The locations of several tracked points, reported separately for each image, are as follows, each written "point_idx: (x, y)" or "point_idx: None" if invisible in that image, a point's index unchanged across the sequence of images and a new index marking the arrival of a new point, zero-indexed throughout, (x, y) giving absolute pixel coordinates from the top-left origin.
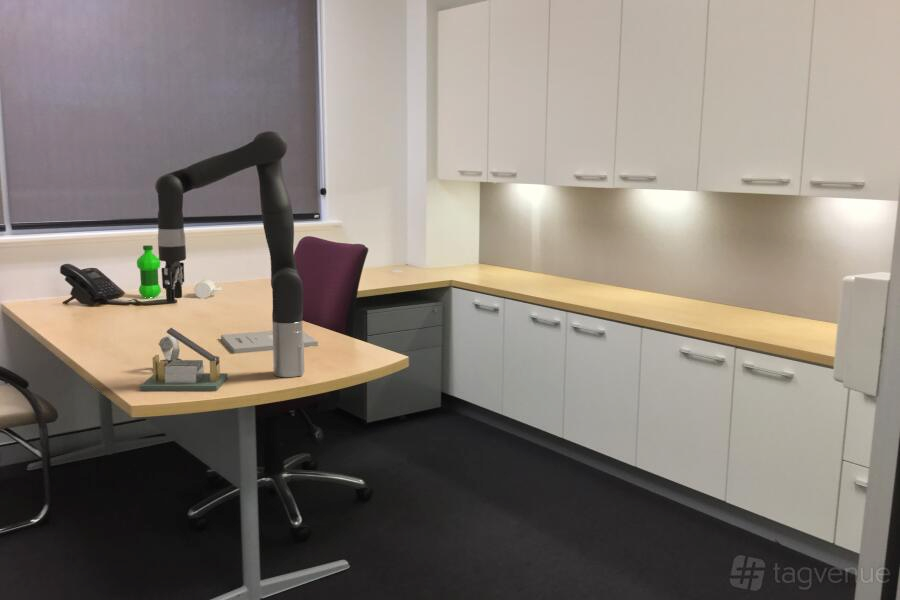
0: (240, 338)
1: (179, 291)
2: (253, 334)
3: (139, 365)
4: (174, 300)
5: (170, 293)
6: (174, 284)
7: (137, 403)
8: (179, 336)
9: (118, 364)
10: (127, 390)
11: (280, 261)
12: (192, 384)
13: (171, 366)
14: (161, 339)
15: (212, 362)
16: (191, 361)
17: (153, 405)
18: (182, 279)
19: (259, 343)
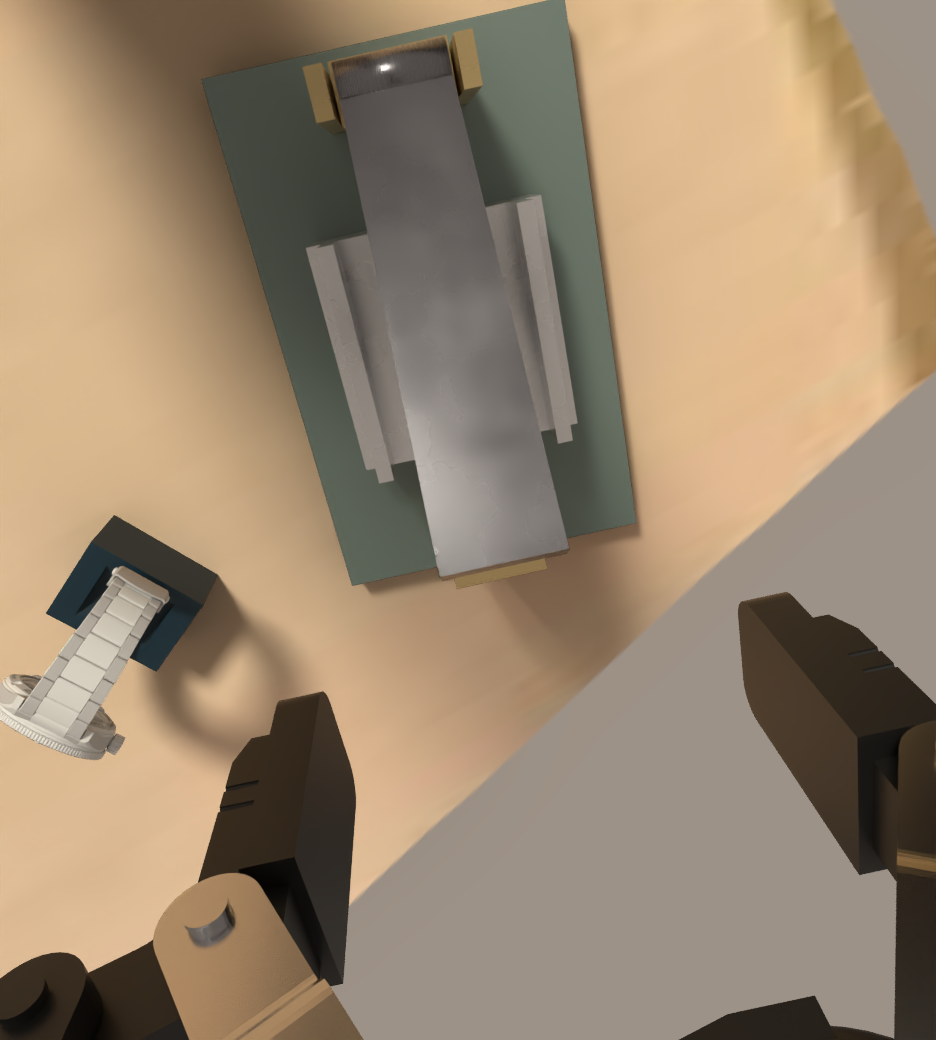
0: None
1: (317, 794)
2: None
3: (130, 788)
4: (771, 602)
5: (921, 716)
6: (927, 825)
7: (865, 395)
8: (501, 429)
9: (154, 888)
10: (627, 579)
11: None
12: (555, 210)
13: (564, 395)
14: (91, 756)
15: (476, 57)
16: (356, 335)
17: (902, 283)
18: (77, 1034)
19: None
